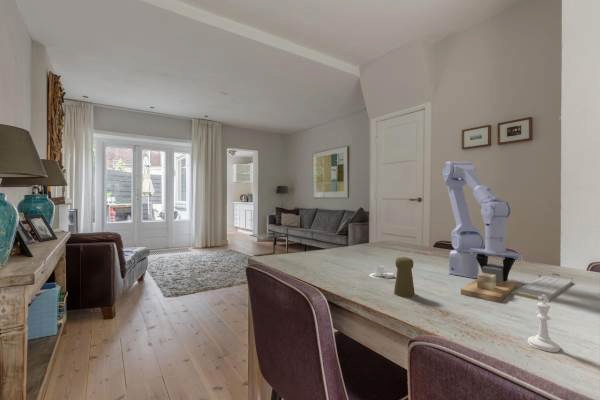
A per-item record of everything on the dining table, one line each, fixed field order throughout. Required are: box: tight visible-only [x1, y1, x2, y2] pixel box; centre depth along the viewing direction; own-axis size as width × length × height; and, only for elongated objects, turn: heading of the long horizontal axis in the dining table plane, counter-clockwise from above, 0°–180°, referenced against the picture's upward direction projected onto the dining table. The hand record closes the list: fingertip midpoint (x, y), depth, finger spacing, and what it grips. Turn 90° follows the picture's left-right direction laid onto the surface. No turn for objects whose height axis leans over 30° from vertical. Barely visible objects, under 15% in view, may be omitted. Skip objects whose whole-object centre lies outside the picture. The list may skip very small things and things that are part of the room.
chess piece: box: [527, 295, 561, 353], centre depth 58 cm, size 5×5×10 cm
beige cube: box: [476, 272, 496, 291], centre depth 90 cm, size 4×4×4 cm
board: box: [460, 279, 518, 303], centre depth 93 cm, size 10×22×2 cm, turn 134°
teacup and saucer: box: [368, 264, 395, 280], centre depth 110 cm, size 9×8×4 cm
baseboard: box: [510, 273, 574, 303], centre depth 96 cm, size 30×3×10 cm
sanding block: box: [481, 262, 509, 286], centre depth 97 cm, size 5×9×5 cm, turn 134°
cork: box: [393, 256, 416, 298], centre depth 90 cm, size 6×6×11 cm
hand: (495, 278), depth 97 cm, fingers closed on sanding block, 5 cm apart
